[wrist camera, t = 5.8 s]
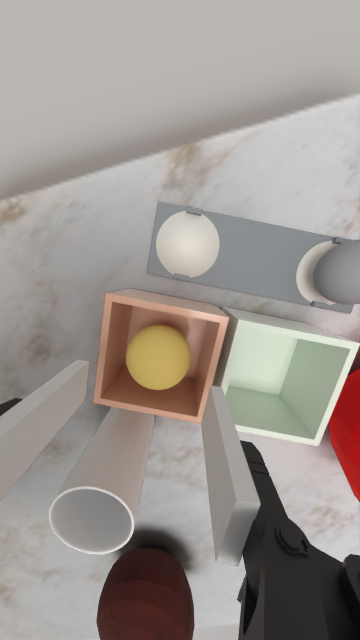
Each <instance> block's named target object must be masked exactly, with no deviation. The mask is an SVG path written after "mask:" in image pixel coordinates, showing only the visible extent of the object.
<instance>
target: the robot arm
mask: <svg viewBox="0 0 360 640" xmlns="http://www.w3.org/2000/svg"><path fill="white" fill-rule="evenodd" d="M88 370H89V361H84V360H79V359H77V360H76V361H74V362H73V363H72V364H70V365H69V366H68V367H66V368H65V369H64V370H62V371H61V372H60V373H58V374H57V375H56V376H54V377H53V378H51V379H50V380H49V381H47V382H46V383H45V384H43V385H42V386H41V387H39V388H38V389H37V390H35V391H34V392H32V393H31V394H30V395H28V396H27V397H26V398H24V399H18V398H15V399H12V400H10V401H8V402H5V403H3V404H1V405H0V501H1V500H2V499H3V498H4V496H5V495H6V494H7V493H8V492H9V490H10V489H11V488H12V487H13V486H14V484H15V483H16V482H17V481H18V480H19V478H20V477H21V476H22V475H23V474H24V472H25V471H26V470H27V469H28V468H29V467H30V465H31V464H32V463H33V462H34V461H35V459H36V458H37V457H38V456H39V455H40V453H41V452H42V451H43V450H44V449H45V447H46V446H47V445H48V444H49V443H50V441H51V440H52V439H53V438H54V437H55V435H56V434H57V433H58V432H59V431H60V429H61V428H62V427H63V426H64V425H65V423H66V422H67V421H68V420H69V419H70V417H71V416H72V415H73V414H74V413H75V411H76V410H77V409H78V408H79V407H80V405H81V404H82V403H83V402H84V401H85V398H86V389H87V379H88ZM201 426H202V435H203V445H204V454H205V464H206V473H207V483H208V492H209V502H210V511H211V521H212V531H213V540H214V550H215V559H216V563H222V564H227V565H232V566H238V565H239V563H240V560H241V557H242V554H243V559H244V564H245V569H246V575H245V578H244V581H243V583H242V586H241V588H240V591H239V595H238V598H237V600H238V601H239V602H240V603H241V600H242V603H241V615H240V627H239V638H238V640H360V556H359V555H353V554H350V555H349V556H347V557H346V558H345V560H344V562H343V563H342V562H340V561H338V560H337V559H335V558H333V557H331V556H329V555H328V554H326V553H324V552H322V551H320V550H319V549H317V548H315V547H314V546H312V545H311V544H310V543H309V541H308V539H307V538H306V536H305V534H304V533H303V532H302V530H301V529H300V528H299V527H298V526H297V525H296V524H295V523H294V522H293V521H291V520H290V519H289V518H288V516H287V514H286V512H285V510H284V507H283V505H282V503H281V500H280V498H279V496H278V493H277V491H276V489H275V486H274V484H273V482H272V479H271V477H270V476H269V472H268V470H267V467H266V466H265V463H264V460H263V458H262V456H261V453H260V452H259V451H258V449H257V448H256V447H255V446H254V444H253V443H251V442H246V441H241V440H239V437H238V434H237V431H236V428H235V425H234V422H233V419H232V416H231V413H230V410H229V407H228V404H227V401H226V398H225V395H224V392H223V389H222V387H217V386H212V385H210V389H209V393H208V397H207V401H206V405H205V409H204V413H203V416H202V420H201Z"/></svg>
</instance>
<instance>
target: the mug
mask: <svg viewBox="0 0 360 640" xmlns="http://www.w3.org/2000/svg"><path fill="white" fill-rule="evenodd" d="M154 422H155V415H153V414H148V413H143V412H138V411H132V410H127V409H122V408H117V407H111V408H110V410H109V412H108V413H107V415H106V416H105V418H104V419H103V421H102V422H101V424H100V426H99V427H98V429H97V431H96V432H95V434H94V435H93V437H92V439H91V440H90V442H89V443H88V445H87V447H86V448H85V450H84V451H83V453H82V455H81V456H80V458H79V459H78V461H77V463H76V464H75V466H74V467H73V469H72V471H71V472H70V474H69V475H68V477H67V479H66V480H65V482H64V484H63V485H62V487H61V489H60V491H59V492H58V494H57V496H56V497H55V499H54V500H53V501H52V503H51V505H50V508H49V513H48V518H49V523H50V526H51V529H52V530H53V532H54V534H55V535H56V536H57V537H58V538H59V539H60V540H61V541H62V542H63V543H64V544H66V545H67V546H69V547H71V548H73V549H75V550H77V551H80V552H84V553H88V554H99V555H103V554H105V553H110V552H113V551H116V550H118V549H120V548H121V547H123V546H124V545H125V544H126V543H127V542H128V541H129V540H130V538H131V536H132V534H133V531H134V525H135V521H136V516H137V512H138V507H139V502H140V497H141V492H142V487H143V481H144V476H145V471H146V465H147V460H148V455H149V449H150V444H151V439H152V434H153V427H154Z"/></svg>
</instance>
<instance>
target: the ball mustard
mask: <svg viewBox="0 0 360 640" xmlns="http://www.w3.org/2000/svg"><path fill="white" fill-rule="evenodd" d="M126 363H127V367H128V370H129V372H130V374H131V376H132V377H133V378H134V380H135V381H136V382H137V383H139V384H140V385H142V386H144V387H146V388H148V389H153V390H164V389H168V388H170V387H172V386H174V385H176V384H177V383H179V382H180V381H181V380H182V379H183V378H184V376H185V375H186V373H187V371H188V369H189V367H190V363H191V350H190V346H189V344H188V341H187V340H186V338H185V337H184V336H183V334H182V333H181V332H180V331H178V330H177V329H175V328H173V327H171V326H168V325H163V324H155V325H150V326H147V327H145V328H143V329H141V330H140V331H139V332H138V333H136V334H135V335H134V337H133V338H132V339H131V341H130V343H129V345H128V348H127V353H126Z"/></svg>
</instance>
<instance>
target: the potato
mask: <svg viewBox="0 0 360 640" xmlns="http://www.w3.org/2000/svg"><path fill="white" fill-rule="evenodd" d="M97 627H98V631H99V636H100V639H101V640H192V638H193V631H194V605H193V599H192V593H191V589H190V586H189V583H188V580H187V577H186V575H185V572H184V569H183V568H182V566H181V564H180V563H179V562H178V561H177V559H176V558H175V557H174V556H173V555H172V554H170V553H168V552H165V551H163V550H161V549H157V548H137V549H133V550H130V551H128V552H126V553H125V554H123V555H122V556H121V557H120V558H119V559H118V560H117V561H116V562H115V564H114V565H113V566H112V568H111V570H110V572H109V574H108V576H107V579H106V581H105V584H104V587H103V590H102V593H101V596H100V600H99V605H98V613H97Z"/></svg>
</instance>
